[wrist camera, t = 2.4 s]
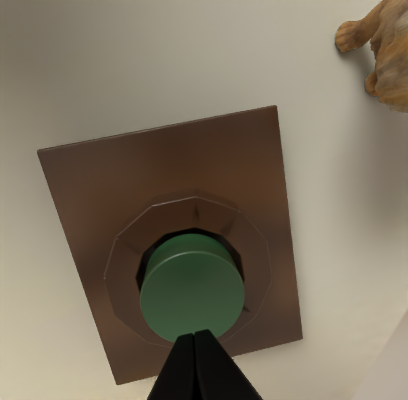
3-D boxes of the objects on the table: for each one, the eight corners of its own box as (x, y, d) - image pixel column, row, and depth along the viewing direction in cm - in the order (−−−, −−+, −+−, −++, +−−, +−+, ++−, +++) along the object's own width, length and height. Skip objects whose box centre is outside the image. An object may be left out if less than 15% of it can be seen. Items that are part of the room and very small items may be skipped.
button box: (289, 318, 15) (323, 369, 11) (123, 358, 14) (106, 425, 11) (263, 109, 12) (297, 96, 9) (55, 149, 11) (4, 151, 8)
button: (240, 302, 11) (252, 332, 9) (157, 321, 10) (153, 356, 9) (226, 224, 10) (236, 241, 8) (135, 243, 10) (127, 265, 8)
